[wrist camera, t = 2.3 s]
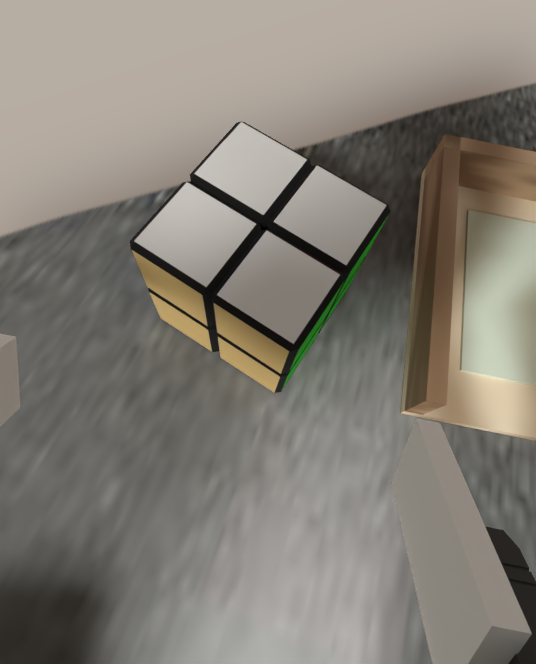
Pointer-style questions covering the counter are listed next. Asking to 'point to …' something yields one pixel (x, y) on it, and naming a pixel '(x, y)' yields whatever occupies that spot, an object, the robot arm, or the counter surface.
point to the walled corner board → (474, 290)
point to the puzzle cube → (256, 252)
